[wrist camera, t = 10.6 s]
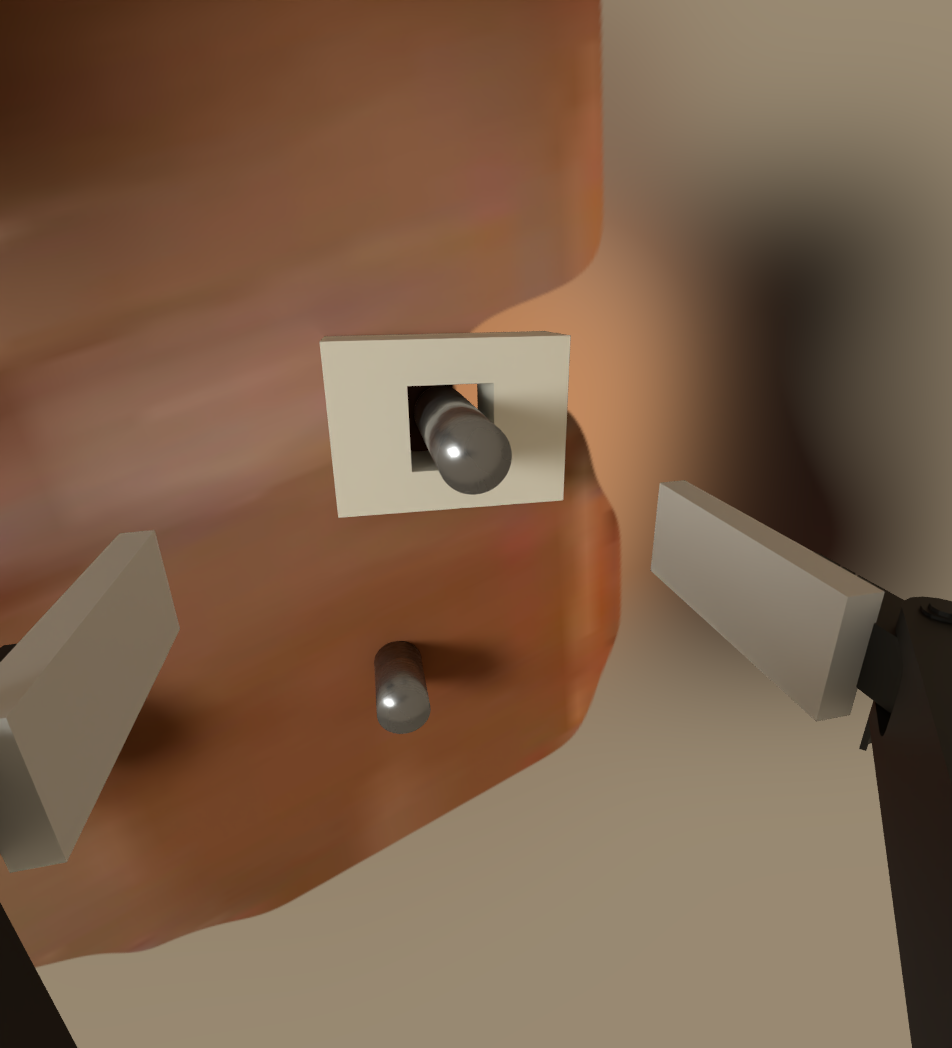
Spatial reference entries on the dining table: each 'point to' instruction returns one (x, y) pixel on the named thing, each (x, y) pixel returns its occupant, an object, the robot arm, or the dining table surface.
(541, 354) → the hole block
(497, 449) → the long pin
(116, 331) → the dining table surface
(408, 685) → the short pin
